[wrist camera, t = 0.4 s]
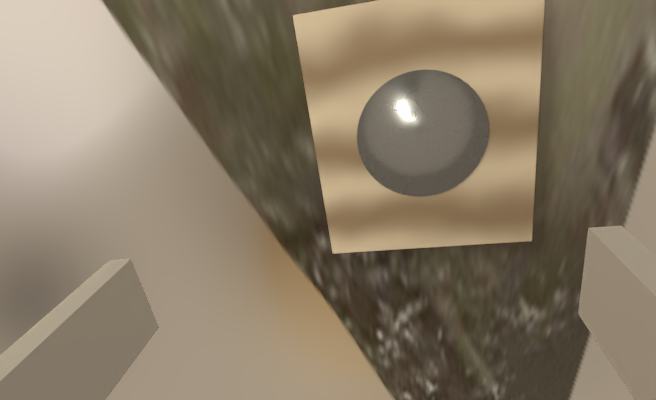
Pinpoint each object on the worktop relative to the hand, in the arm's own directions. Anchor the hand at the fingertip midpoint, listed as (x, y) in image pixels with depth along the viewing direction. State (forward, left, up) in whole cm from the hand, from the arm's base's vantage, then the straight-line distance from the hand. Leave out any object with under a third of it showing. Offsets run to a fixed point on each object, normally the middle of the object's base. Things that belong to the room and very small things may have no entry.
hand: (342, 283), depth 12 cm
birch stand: (+2, +4, -25) cm, 26 cm away
